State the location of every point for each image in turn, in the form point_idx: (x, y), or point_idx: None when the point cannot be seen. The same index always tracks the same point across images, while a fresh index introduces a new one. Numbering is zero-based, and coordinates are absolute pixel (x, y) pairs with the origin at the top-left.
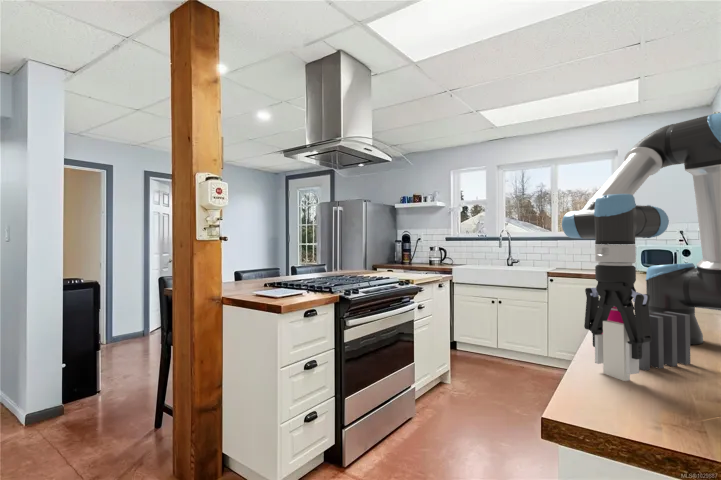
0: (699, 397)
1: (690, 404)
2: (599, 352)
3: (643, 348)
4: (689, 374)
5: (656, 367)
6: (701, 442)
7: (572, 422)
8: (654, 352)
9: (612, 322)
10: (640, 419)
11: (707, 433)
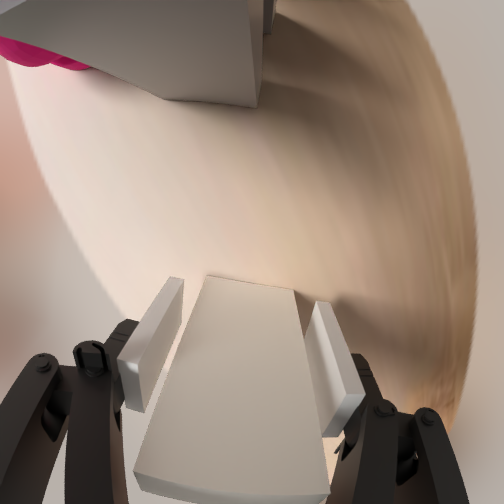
0: (456, 257)
1: (445, 324)
2: (168, 343)
3: (247, 84)
4: (364, 24)
5: None
6: (445, 422)
7: None
8: None
9: (211, 501)
10: None
11: (455, 401)
